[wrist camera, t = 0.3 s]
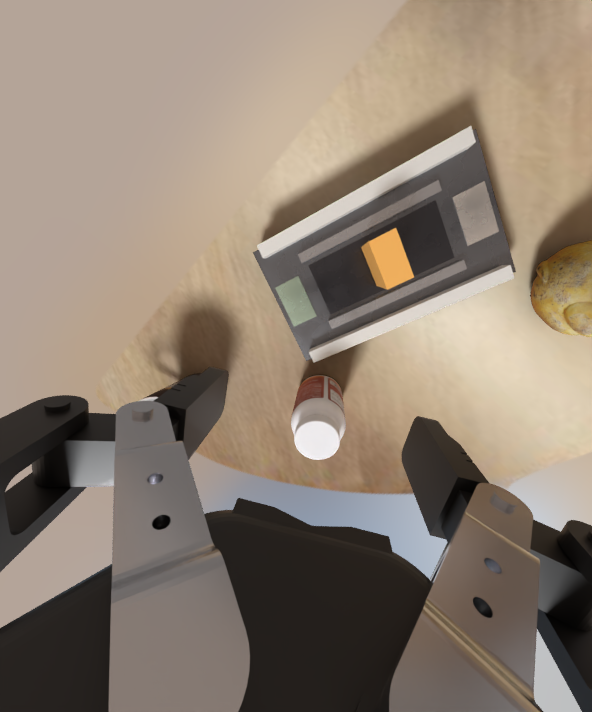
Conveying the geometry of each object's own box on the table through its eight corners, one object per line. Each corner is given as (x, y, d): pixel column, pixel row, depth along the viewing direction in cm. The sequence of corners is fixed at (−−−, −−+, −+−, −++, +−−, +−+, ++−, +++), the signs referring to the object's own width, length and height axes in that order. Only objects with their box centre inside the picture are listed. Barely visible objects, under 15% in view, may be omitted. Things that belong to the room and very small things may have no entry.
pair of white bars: (463, 132, 26) (471, 125, 24) (505, 277, 29) (514, 278, 28) (259, 246, 31) (256, 245, 29) (314, 359, 34) (313, 362, 33)
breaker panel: (461, 143, 28) (480, 124, 25) (498, 271, 31) (520, 271, 28) (259, 254, 34) (251, 252, 30) (308, 353, 37) (305, 362, 33)
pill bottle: (293, 407, 40) (280, 457, 29) (303, 368, 38) (293, 407, 27) (335, 418, 39) (338, 473, 29) (348, 380, 37) (355, 423, 27)
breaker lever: (382, 236, 29) (396, 227, 23) (398, 275, 30) (414, 277, 24) (361, 247, 29) (368, 241, 23) (376, 285, 30) (387, 289, 24)
